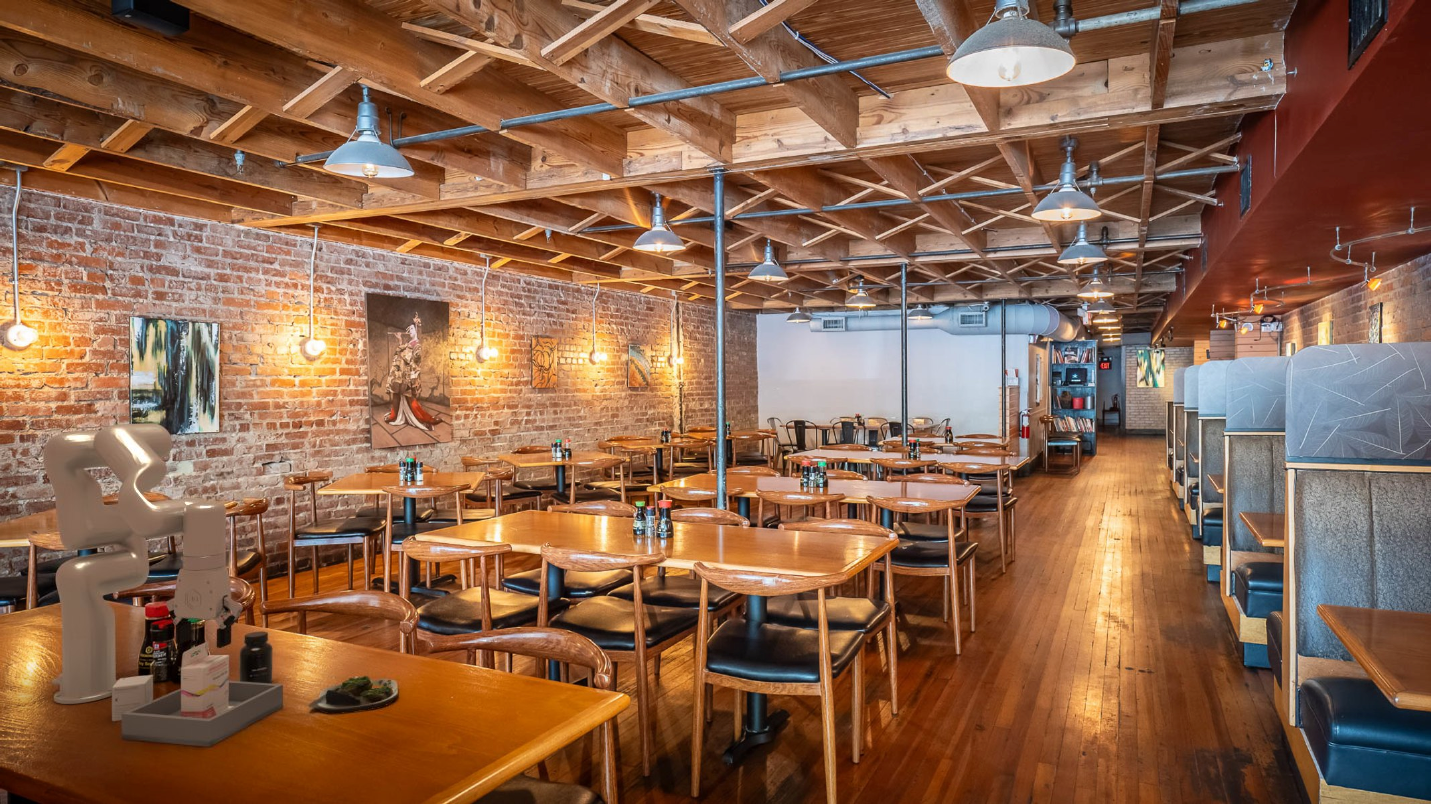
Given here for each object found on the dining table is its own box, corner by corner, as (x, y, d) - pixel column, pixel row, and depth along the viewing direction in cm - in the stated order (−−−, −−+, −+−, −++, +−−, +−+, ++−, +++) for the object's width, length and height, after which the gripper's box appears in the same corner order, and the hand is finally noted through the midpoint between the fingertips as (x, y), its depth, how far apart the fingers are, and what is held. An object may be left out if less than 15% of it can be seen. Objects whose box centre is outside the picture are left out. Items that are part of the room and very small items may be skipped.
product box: (111, 722, 168) (110, 687, 168) (120, 711, 174) (119, 677, 174) (146, 717, 170) (145, 683, 170) (153, 707, 176) (153, 674, 176)
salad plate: (317, 688, 188) (317, 669, 188) (400, 679, 194) (400, 660, 194) (306, 720, 170) (305, 698, 170) (397, 708, 176) (397, 687, 176)
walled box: (121, 739, 160) (121, 714, 160) (203, 701, 179) (203, 678, 179) (209, 747, 156) (209, 721, 156) (283, 707, 176) (282, 684, 176)
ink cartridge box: (204, 726, 163) (203, 653, 163) (180, 726, 163) (179, 653, 163) (230, 709, 171) (229, 640, 171) (207, 709, 172) (206, 640, 171)
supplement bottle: (257, 691, 185) (257, 639, 185) (232, 689, 187) (231, 637, 187) (279, 680, 192) (279, 630, 192) (254, 679, 193) (254, 629, 193)
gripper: (153, 563, 165) (152, 646, 166) (226, 568, 162) (225, 653, 162) (183, 555, 173) (182, 635, 173) (254, 561, 169) (253, 642, 170)
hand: (203, 644), depth 168 cm, fingers open, 9 cm apart
